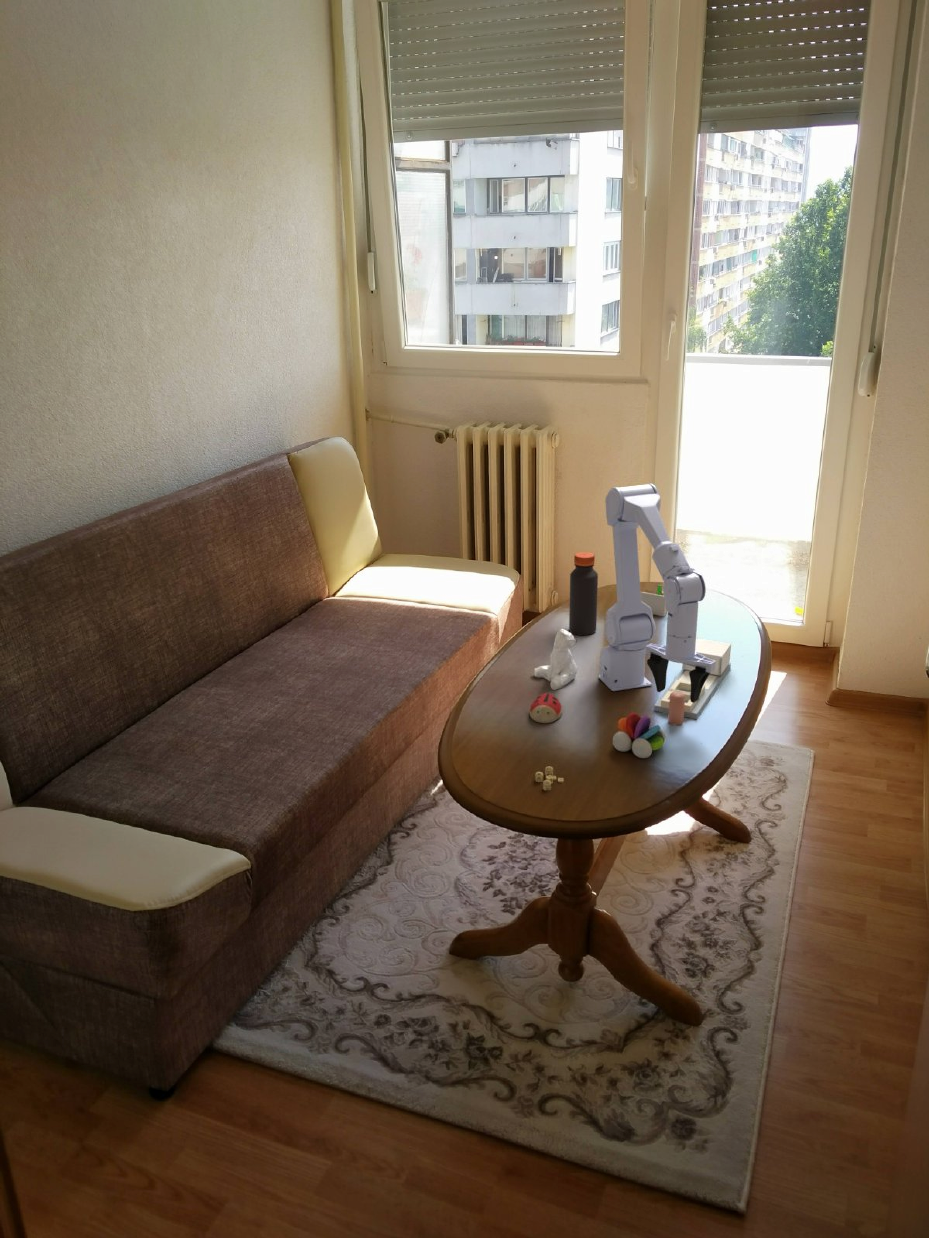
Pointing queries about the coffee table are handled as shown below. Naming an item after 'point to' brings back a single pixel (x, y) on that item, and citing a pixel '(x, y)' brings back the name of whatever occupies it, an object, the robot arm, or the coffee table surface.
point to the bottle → (583, 595)
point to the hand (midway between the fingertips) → (677, 695)
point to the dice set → (547, 778)
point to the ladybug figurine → (545, 708)
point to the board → (684, 686)
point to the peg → (676, 708)
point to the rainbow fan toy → (638, 736)
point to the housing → (713, 654)
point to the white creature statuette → (559, 662)
